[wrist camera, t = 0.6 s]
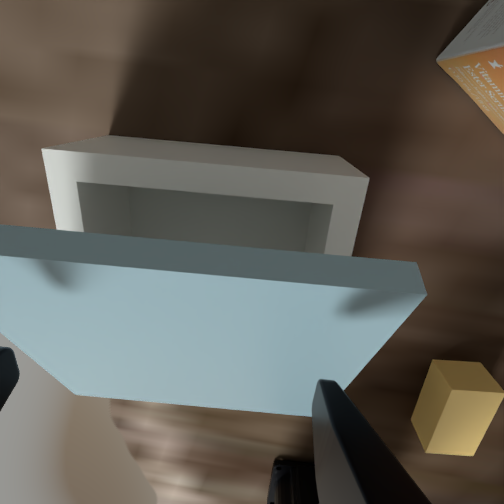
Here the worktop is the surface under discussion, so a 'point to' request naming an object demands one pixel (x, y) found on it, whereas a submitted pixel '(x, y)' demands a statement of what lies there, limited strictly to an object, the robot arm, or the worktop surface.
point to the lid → (197, 316)
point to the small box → (480, 60)
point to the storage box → (206, 193)
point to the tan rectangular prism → (455, 407)
